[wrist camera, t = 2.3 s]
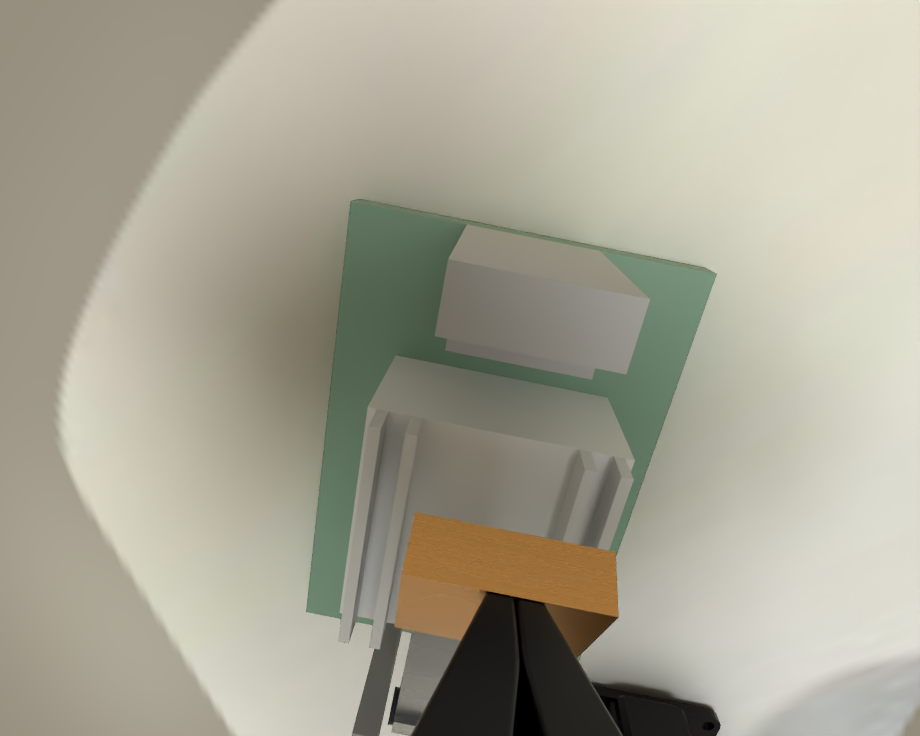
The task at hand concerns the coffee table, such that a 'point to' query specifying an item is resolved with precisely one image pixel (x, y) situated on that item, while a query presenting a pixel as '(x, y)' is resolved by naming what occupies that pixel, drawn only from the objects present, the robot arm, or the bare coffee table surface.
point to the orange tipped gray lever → (497, 571)
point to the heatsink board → (410, 325)
